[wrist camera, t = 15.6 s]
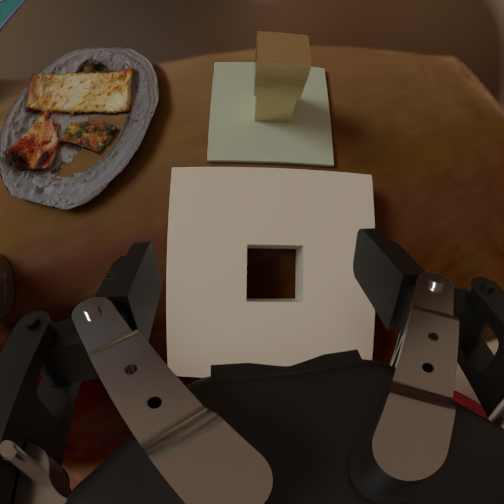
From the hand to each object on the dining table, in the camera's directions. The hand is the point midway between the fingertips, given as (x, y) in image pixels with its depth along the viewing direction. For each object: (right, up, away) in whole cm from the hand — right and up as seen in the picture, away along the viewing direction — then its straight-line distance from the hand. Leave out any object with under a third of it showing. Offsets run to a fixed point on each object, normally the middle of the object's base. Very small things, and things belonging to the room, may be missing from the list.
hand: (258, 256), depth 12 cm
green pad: (+2, +17, +22) cm, 28 cm away
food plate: (-24, +17, +21) cm, 36 cm away
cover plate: (+2, -2, +20) cm, 21 cm away
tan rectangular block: (+2, +17, +21) cm, 27 cm away
